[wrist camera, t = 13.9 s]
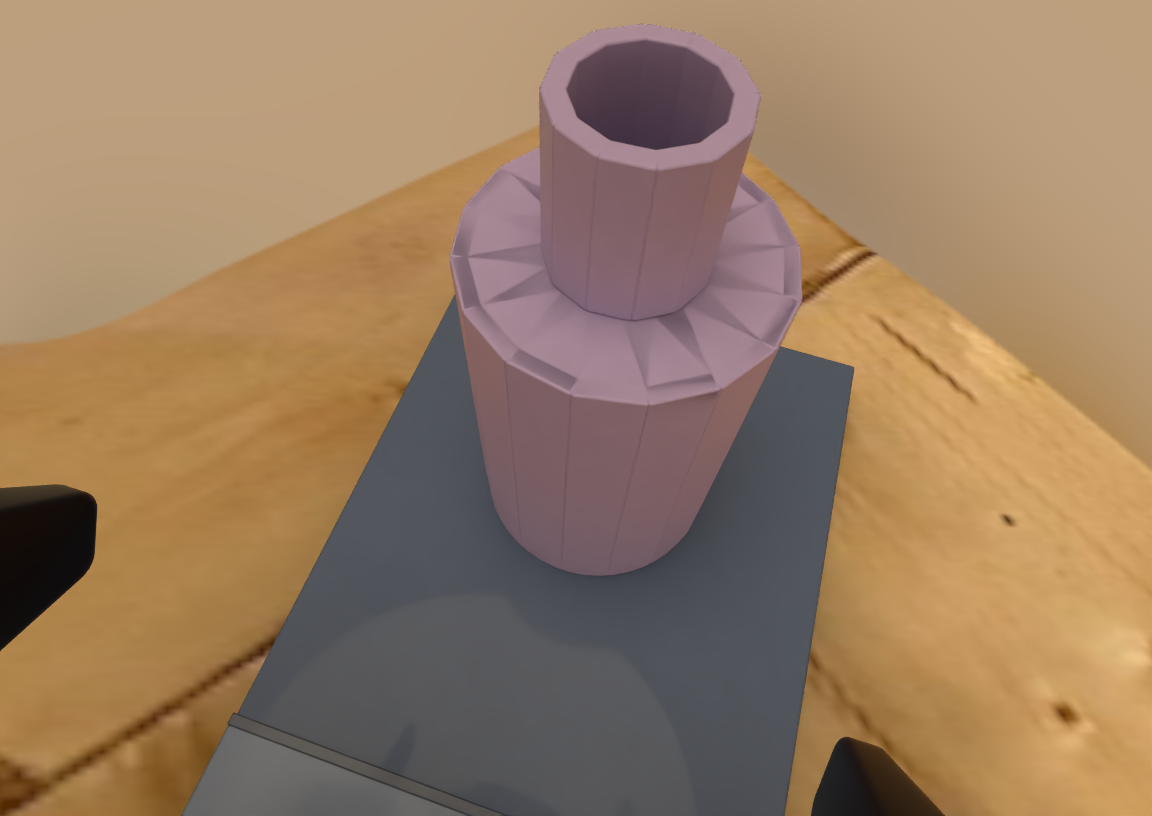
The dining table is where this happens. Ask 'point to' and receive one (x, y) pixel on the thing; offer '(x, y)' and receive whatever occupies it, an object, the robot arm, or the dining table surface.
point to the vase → (622, 298)
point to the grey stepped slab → (543, 635)
